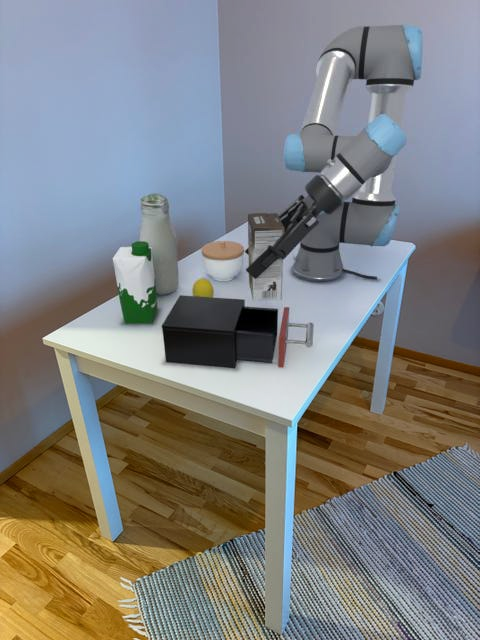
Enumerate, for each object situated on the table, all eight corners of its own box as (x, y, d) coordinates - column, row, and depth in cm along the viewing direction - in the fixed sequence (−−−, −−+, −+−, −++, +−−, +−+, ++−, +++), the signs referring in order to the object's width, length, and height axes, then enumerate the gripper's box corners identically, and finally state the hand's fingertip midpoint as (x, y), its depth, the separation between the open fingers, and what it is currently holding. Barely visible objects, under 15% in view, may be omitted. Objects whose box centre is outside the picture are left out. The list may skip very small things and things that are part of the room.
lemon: (211, 310, 123) (209, 283, 119) (191, 308, 124) (189, 281, 120) (216, 300, 128) (215, 274, 124) (196, 299, 129) (195, 272, 125)
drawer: (312, 337, 109) (314, 308, 105) (310, 370, 98) (313, 339, 94) (228, 331, 112) (227, 302, 108) (217, 362, 101) (215, 331, 97)
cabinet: (245, 334, 113) (244, 299, 108) (235, 368, 101) (234, 331, 96) (183, 329, 115) (179, 295, 110) (165, 362, 103) (161, 325, 98)
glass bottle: (144, 301, 128) (131, 200, 114) (147, 285, 137) (135, 189, 123) (180, 299, 129) (171, 199, 115) (181, 283, 138) (173, 188, 123)
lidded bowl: (214, 265, 149) (213, 232, 143) (250, 271, 144) (250, 238, 138) (195, 280, 139) (192, 246, 133) (233, 288, 134) (232, 252, 129)
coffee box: (247, 283, 105) (247, 213, 97) (275, 281, 105) (277, 211, 97) (252, 301, 97) (251, 227, 89) (282, 300, 97) (285, 226, 89)
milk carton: (155, 325, 117) (145, 251, 107) (119, 325, 117) (107, 251, 107) (161, 308, 124) (153, 237, 114) (127, 308, 125) (116, 237, 115)
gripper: (310, 161, 98) (236, 234, 106) (328, 188, 79) (237, 274, 87) (333, 186, 101) (259, 255, 109) (356, 218, 82) (265, 299, 90)
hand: (249, 264), depth 98 cm, fingers closed on coffee box, 9 cm apart
